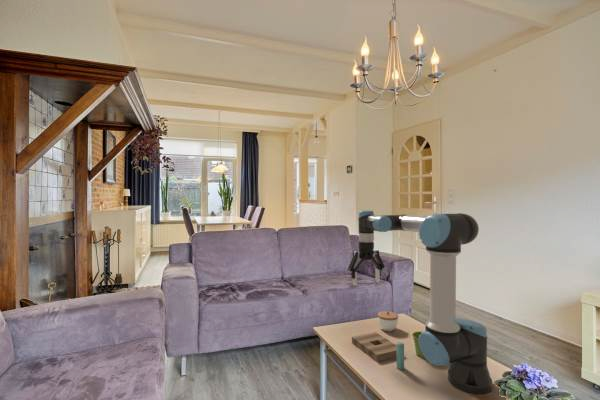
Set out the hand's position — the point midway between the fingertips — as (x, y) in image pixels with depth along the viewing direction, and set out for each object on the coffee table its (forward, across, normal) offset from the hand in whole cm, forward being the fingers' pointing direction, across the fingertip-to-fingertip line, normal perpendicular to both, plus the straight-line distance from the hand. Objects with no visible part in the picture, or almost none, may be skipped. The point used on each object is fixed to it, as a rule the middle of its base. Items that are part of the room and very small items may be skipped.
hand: (366, 283), depth 164 cm
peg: (+28, +4, +30) cm, 41 cm away
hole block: (+28, +3, +12) cm, 30 cm away
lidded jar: (+28, -17, -6) cm, 33 cm away
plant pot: (+28, -13, +24) cm, 39 cm away
